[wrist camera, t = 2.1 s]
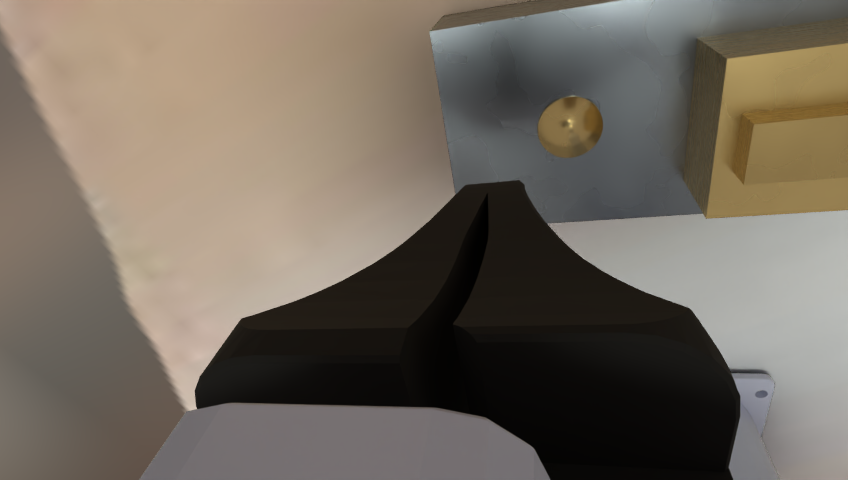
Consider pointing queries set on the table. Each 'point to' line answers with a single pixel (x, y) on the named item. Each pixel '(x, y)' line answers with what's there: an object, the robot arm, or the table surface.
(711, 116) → the lever cap
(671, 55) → the steel plate with brass
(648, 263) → the table surface
